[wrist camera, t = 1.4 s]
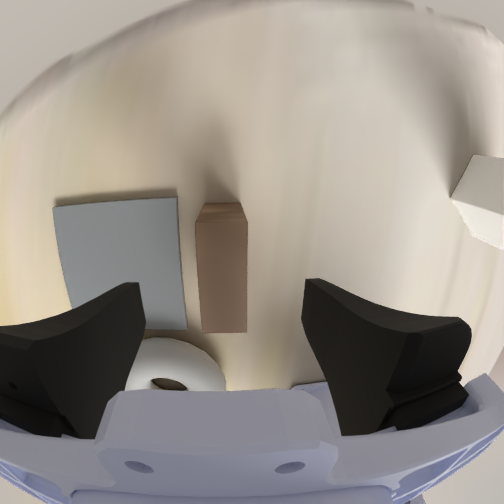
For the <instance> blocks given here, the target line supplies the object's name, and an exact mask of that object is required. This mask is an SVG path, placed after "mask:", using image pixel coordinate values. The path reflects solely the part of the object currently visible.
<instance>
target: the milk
mask: <svg viewBox="0 0 504 504" xmlns="http://www.w3.org/2000/svg"><path fill="white" fill-rule="evenodd" d="M450 199H451V201H452V203H453V204H454V206H455V207H456V209H457V211H458V212H459V214H460V216H461V217H462V219H463V221H464V223H465V224H466V226H467V228H468V230H469V231H470V233H471V235H472V236H473V237H476V238H478V239H480V240H482V241H485V242H487V243H489V244H491V245H493V246H495V247H498V248H500V249H502V250H504V158H497V157H490V156H482V155H473V156H472V158H471V160H470V162H469V164H468V166H467V168H466V170H465V172H464V174H463V176H462V178H461V179H460V181H459V183H458V185H457V187H456V188H455V190H454V192H453V194H452V195H451V197H450Z"/></svg>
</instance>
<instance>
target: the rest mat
mask: <svg viewBox="0 0 504 504" xmlns="http://www.w3.org/2000/svg"><path fill="white" fill-rule="evenodd" d="M52 209H53V217H54V225H55V232H56V239H57V245H58V250H59V256H60V261H61V265H62V270H63V275H64V279H65V283H66V287H67V291H68V295H69V299H70V302H71V306H72V309H74V308H76V307H78V306H81V305H82V304H84V303H86V302H88V301H90V300H92V299H94V298H96V297H98V296H100V295H101V294H103V293H105V292H107V291H109V290H110V289H112V288H114V287H116V286H118V285H120V284H122V283H125V282H139V285H140V291H141V297H142V303H143V308H144V313H145V318H146V326H145V329H159V330H187V327H188V324H187V316H186V307H185V298H184V288H183V277H182V265H181V252H180V237H179V219H178V197H165V198H146V199H130V200H116V201H104V202H93V203H83V204H73V205H64V206H56V207H53V208H52Z"/></svg>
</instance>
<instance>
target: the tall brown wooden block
mask: <svg viewBox="0 0 504 504" xmlns="http://www.w3.org/2000/svg"><path fill="white" fill-rule="evenodd" d="M195 236H196V256H197V272H198V287H199V300H200V312H201V323H202V333H241V332H247V245H248V222H247V219H246V216H245V214H244V211H243V208H242V206H241V203H204V205H203V207H202V210H201V212H200V214H199V216H198V218H197V220H196V222H195Z"/></svg>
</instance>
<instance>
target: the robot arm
mask: <svg viewBox="0 0 504 504" xmlns="http://www.w3.org/2000/svg"><path fill="white" fill-rule="evenodd" d="M301 320H302V324H303V327H304V331H305V334H306V337H307V339H308V341H309V344H310V346H311V348H312V350H313V352H314V354H315V356H316V358H317V360H318V363H319V365H320V367H321V369H322V371H323V373H324V376H325V378H326V382H320V383H313V384H305V385H297V386H294V387H292V389H291V390H289V389H276V388H272V389H260V390H242V391H173V390H156V389H139V390H129V391H125V387H126V383H127V380H128V376H129V374H130V371H131V368H132V366H133V363H134V361H135V358H136V355H137V353H138V350H139V348H140V345H141V342H142V339H143V335H144V331H145V326H146V318H145V313H144V308H143V303H142V297H141V291H140V285H139V282H125V283H122V284H120V285H118V286H116V287H114V288H112V289H110V290H109V291H107V292H105V293H103V294H101V295H100V296H98V297H96V298H94V299H92V300H90V301H88V302H86V303H84V304H82V305H81V306H78V307H76V308H74V309H72V310H69V311H67V312H64V313H62V314H59V315H56V316H53V317H50V318H46V319H43V320H39V321H35V322H30V323H25V324H19V325H10V326H0V476H1V477H3V478H4V479H6V480H7V481H9V482H10V483H12V484H13V485H15V486H17V487H19V488H20V489H22V490H23V491H25V492H27V493H28V494H30V495H32V496H34V497H35V498H37V499H39V500H41V501H43V502H45V503H47V504H426V503H425V501H424V499H423V496H422V493H424V492H426V491H427V490H429V489H431V488H432V487H434V486H435V485H437V484H438V483H440V482H442V481H443V480H445V479H446V478H448V477H449V476H451V475H452V474H454V473H455V472H457V471H458V470H460V469H461V468H463V467H464V466H465V465H467V464H468V463H470V462H471V461H472V460H474V459H475V458H476V457H478V456H479V455H480V454H482V453H483V452H484V451H485V450H486V449H487V448H488V447H489V446H490V445H491V443H493V441H494V440H495V439H496V438H497V437H498V436H499V435H500V434H501V432H502V431H503V430H504V392H503V391H502V390H501V389H500V388H499V387H498V386H497V385H496V384H495V382H494V381H493V380H492V379H491V378H490V377H489V376H488V375H487V374H486V373H484V374H482V375H480V376H478V377H477V378H475V379H473V380H471V381H469V382H468V383H467V384H466V385H465V386H464V387H463V386H462V385H461V384H460V383H459V381H461V379H462V376H461V375H460V374H459V373H458V369H459V367H460V365H461V363H462V361H463V359H464V357H465V355H466V353H467V351H468V348H469V346H470V343H471V337H472V333H471V328H470V326H469V325H468V324H467V323H466V322H465V321H463V320H462V319H461V318H459V317H441V316H427V315H419V314H413V313H408V312H403V311H399V310H395V309H391V308H388V307H384V306H381V305H378V304H375V303H373V302H370V301H368V300H365V299H363V298H361V297H358V296H356V295H354V294H352V293H350V292H348V291H346V290H344V289H342V288H340V287H338V286H336V285H334V284H332V283H329V282H327V281H325V280H323V279H319V278H315V279H305V289H304V299H303V308H302V316H301Z"/></svg>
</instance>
